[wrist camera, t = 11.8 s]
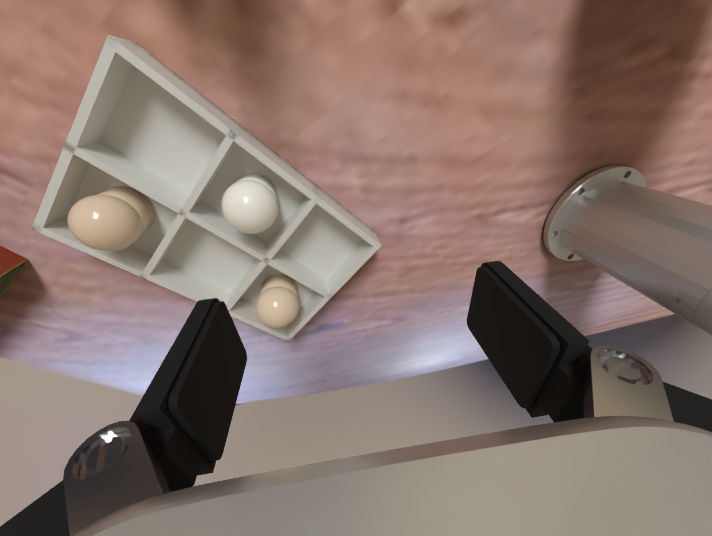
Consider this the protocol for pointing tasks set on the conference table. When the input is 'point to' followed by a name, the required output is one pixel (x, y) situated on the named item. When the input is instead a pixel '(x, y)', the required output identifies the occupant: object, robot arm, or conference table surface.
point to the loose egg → (250, 204)
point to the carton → (10, 267)
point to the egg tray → (197, 193)
